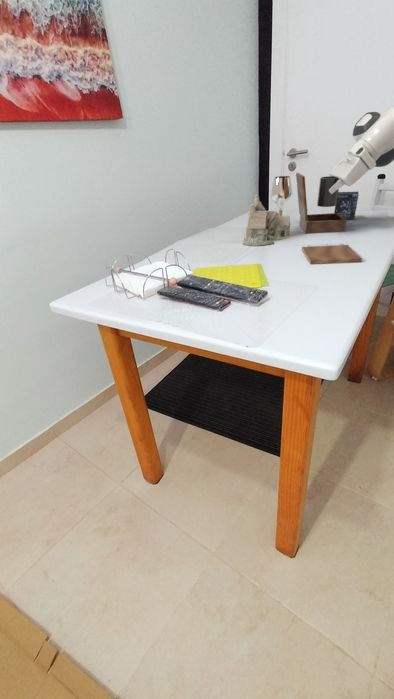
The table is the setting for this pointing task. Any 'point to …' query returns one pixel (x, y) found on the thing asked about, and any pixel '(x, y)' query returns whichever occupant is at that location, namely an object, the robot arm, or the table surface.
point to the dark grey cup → (327, 192)
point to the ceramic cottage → (265, 225)
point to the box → (346, 204)
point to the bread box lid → (302, 196)
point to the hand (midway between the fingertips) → (326, 190)
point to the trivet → (330, 254)
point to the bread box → (323, 223)
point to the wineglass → (281, 190)
